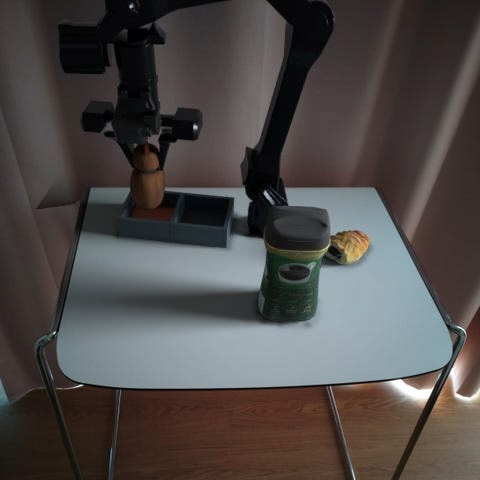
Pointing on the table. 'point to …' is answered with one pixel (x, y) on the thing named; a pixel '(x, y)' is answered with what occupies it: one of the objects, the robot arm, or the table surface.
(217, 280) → the table surface
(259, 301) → the coffee jar
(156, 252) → the table surface
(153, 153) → the wooden figurine
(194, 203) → the tray
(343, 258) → the pastry
